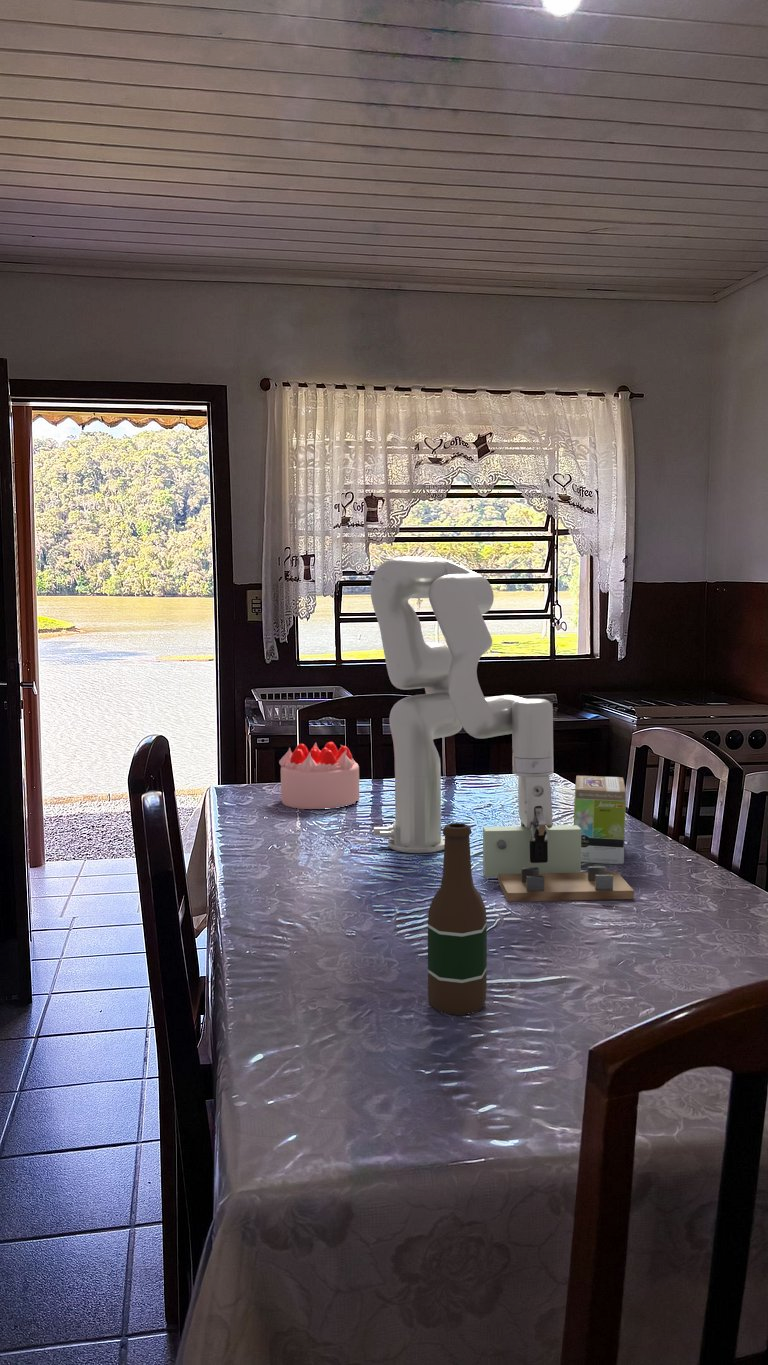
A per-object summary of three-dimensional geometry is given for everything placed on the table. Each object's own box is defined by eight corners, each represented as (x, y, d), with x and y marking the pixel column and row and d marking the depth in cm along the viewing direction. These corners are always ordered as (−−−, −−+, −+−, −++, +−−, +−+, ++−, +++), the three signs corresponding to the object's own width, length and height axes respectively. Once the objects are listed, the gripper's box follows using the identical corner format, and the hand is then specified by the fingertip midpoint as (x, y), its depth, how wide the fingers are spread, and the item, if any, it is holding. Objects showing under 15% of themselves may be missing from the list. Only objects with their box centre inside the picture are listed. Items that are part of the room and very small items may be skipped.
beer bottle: (424, 992, 133) (423, 818, 131) (481, 990, 134) (481, 817, 131) (431, 1018, 126) (431, 833, 123) (492, 1015, 126) (492, 831, 124)
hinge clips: (527, 891, 171) (527, 877, 171) (521, 881, 177) (521, 867, 176) (612, 889, 171) (613, 875, 171) (604, 879, 177) (604, 866, 177)
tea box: (625, 865, 191) (626, 790, 190) (572, 863, 193) (573, 788, 192) (622, 845, 206) (623, 775, 204) (573, 842, 208) (574, 773, 206)
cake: (357, 810, 238) (357, 752, 237) (275, 811, 239) (274, 753, 237) (360, 793, 258) (360, 739, 256) (284, 793, 258) (283, 740, 257)
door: (485, 879, 183) (485, 832, 182) (482, 873, 187) (483, 827, 186) (582, 877, 184) (582, 830, 183) (577, 871, 188) (577, 825, 187)
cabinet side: (507, 901, 170) (507, 893, 170) (498, 882, 181) (498, 874, 181) (633, 899, 171) (633, 890, 171) (616, 879, 182) (616, 871, 182)
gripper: (562, 773, 175) (563, 867, 177) (543, 757, 192) (544, 843, 194) (520, 774, 175) (521, 868, 177) (505, 758, 192) (506, 844, 194)
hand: (533, 855), depth 185 cm, fingers open, 9 cm apart
